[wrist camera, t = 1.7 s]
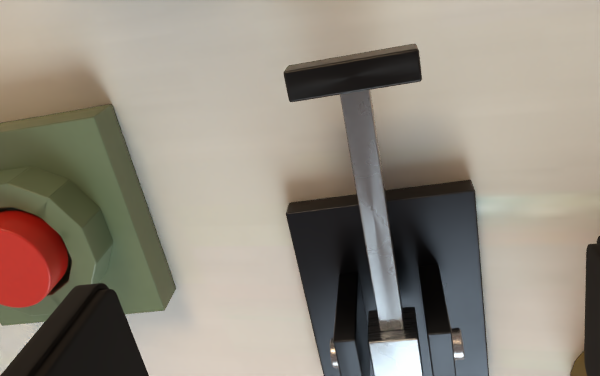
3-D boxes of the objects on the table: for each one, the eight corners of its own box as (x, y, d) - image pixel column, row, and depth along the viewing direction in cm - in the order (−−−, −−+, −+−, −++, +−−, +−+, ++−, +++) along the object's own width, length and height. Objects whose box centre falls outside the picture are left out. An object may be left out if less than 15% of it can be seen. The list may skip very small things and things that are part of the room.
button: (-34, 215, 27) (-59, 233, 25) (48, 203, 26) (27, 222, 24) (4, 290, 28) (-17, 312, 27) (82, 282, 28) (64, 304, 26)
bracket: (288, 202, 28) (268, 272, 23) (470, 179, 27) (497, 248, 21) (329, 380, 33) (321, 474, 28) (486, 369, 32) (510, 467, 26)
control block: (-63, 133, 29) (-124, 163, 25) (112, 103, 27) (72, 131, 24) (21, 304, 33) (-21, 350, 30) (176, 288, 32) (151, 335, 28)
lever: (289, 62, 22) (280, 75, 20) (415, 40, 21) (419, 51, 19) (348, 358, 28) (346, 393, 26) (450, 351, 27) (457, 386, 25)
